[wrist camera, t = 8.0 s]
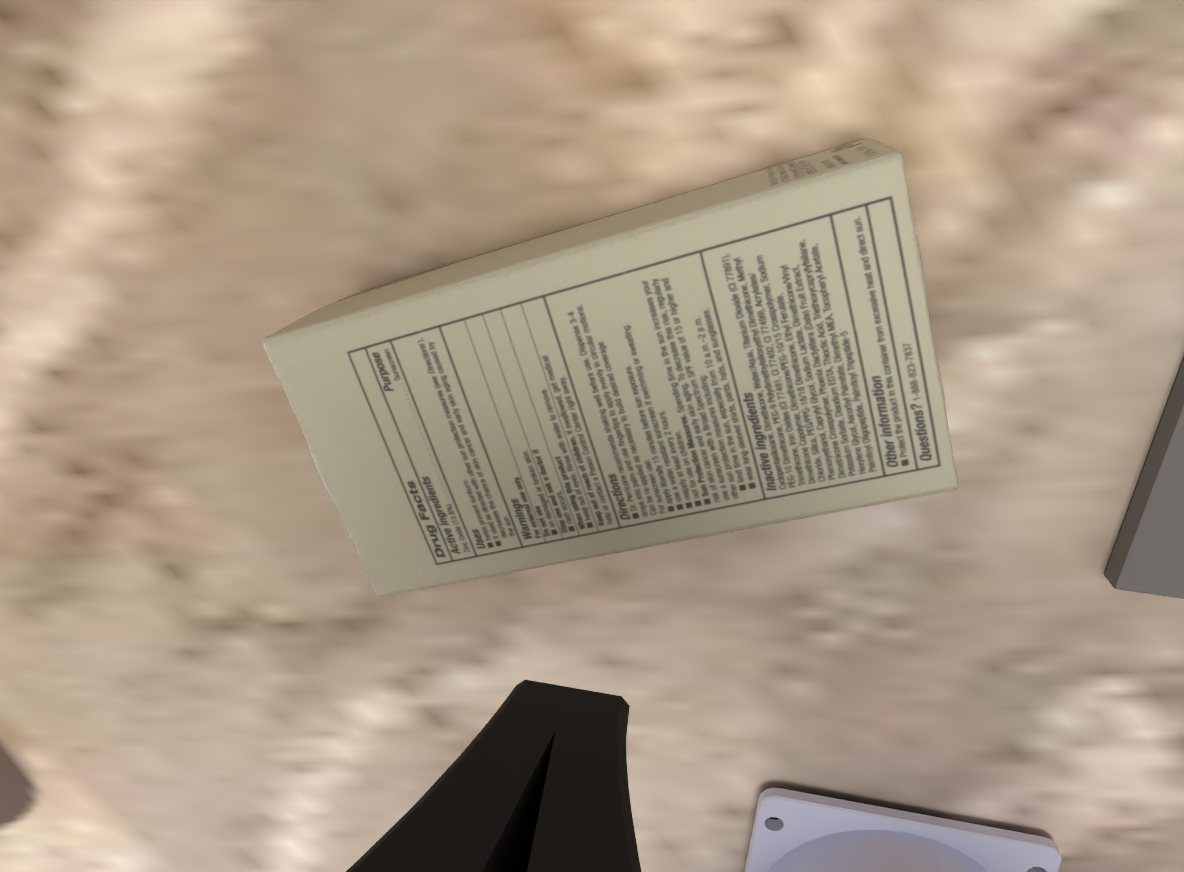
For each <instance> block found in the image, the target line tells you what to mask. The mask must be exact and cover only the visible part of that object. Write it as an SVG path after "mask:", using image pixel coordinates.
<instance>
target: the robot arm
mask: <svg viewBox="0 0 1184 872" xmlns="http://www.w3.org/2000/svg"><path fill="white" fill-rule="evenodd" d="M628 715H629V705H628V704H627V702H626V701H625V700H624V699H623V698H622V696H616V695H610V694H604V693H599V692H593V691H587V690H581V689H576V688H570V687H564V686H558V685H552V684H547V683H541V682H535V681H529V680H524V681H523V682H521V683H520V684H518V685H516V687H515V688H514V689H513V691H512V692H511V693H510V695H509V696H508V698H507V699H506V700H505V702H504V703H503V704H502V705H501V707H500V708H499V709H498V711H497V712H496V713H495V714H494V716H493V717H492V718H491V719H490V721H489V722H488V723H487V724H486V726H485V727H484V728H483V729H482V730H481V732H480V733H479V734H478V735H477V736H476V737H475V739H474V740H473V741H472V742H471V743H470V744H469V746H468V747H467V748H466V749H465V750H464V752H463V753H462V754H461V755H460V756H459V757H458V758H457V759H456V761H455V762H454V763H453V764H452V765H451V766H450V767H449V768H448V769H447V770H446V771H445V773H444V774H443V775H442V776H441V777H440V778H439V779H438V780H437V781H436V782H435V783H434V785H433V786H432V787H431V788H430V789H429V790H428V791H427V792H426V793H425V794H424V795H423V797H422V798H421V799H420V800H419V801H418V802H417V803H416V804H415V805H414V806H413V807H412V808H411V809H410V810H409V811H408V812H407V813H406V814H405V815H404V816H403V817H402V818H401V819H400V820H399V821H398V822H397V823H396V824H395V825H394V826H393V827H392V828H391V829H390V830H389V831H388V832H387V833H386V834H385V835H384V836H383V837H382V838H381V839H380V840H378V841H377V842H376V843H375V844H374V845H373V846H372V847H371V848H370V849H369V850H368V851H367V852H366V853H365V854H364V855H363V856H362V857H361V858H360V859H359V860H358V861H357V862H356V863H355V864H354V865H353V866H351V867H350V868H349V869H348V870H347V871H346V872H641V868H640V862H639V857H638V851H637V844H636V838H635V832H634V825H633V819H632V813H631V805H630V797H629V788H628V775H627V762H626V734H627V725H628ZM770 817H777V818H779V819H778V820H772V819H769V818H770ZM1061 860H1062V857H1061V855H1060V852H1059V850H1058V848H1057V846H1056V844H1055V842H1053V841H1052V840H1051V839H1049V838H1046V837H1043V836H1037V835H1032V834H1026V833H1021V832H1015V831H1010V830H1005V829H999V828H994V827H988V826H983V825H977V824H972V823H966V822H961V821H956V820H950V819H945V818H939V817H934V816H928V815H923V814H918V813H912V812H907V811H901V810H896V809H890V808H885V807H880V806H874V805H869V804H863V803H858V802H852V801H847V800H841V799H836V798H831V797H825V796H820V795H814V794H809V793H803V792H798V791H793V790H787V789H782V788H769V789H766V790H764V791H763V792H762V793H761V794H760V796H759V798H758V804H757V809H756V814H755V819H754V824H753V829H752V834H751V839H750V845H749V850H748V855H747V860H746V865H745V870H744V872H1058V870H1059V867H1060V865H1061ZM1032 867H1037V868H1032Z"/></svg>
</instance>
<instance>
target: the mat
mask: <svg viewBox="0 0 1184 872" xmlns="http://www.w3.org/2000/svg"><path fill="white" fill-rule="evenodd" d="M1104 575H1105V577H1106V578H1107V579H1108V580H1109V582H1110V583H1111V584H1112V586H1113V587H1114V588H1115V589H1119V590H1126V591H1133V592H1140V593H1147V594H1155V595H1162V596H1169V597H1176V598H1183V599H1184V359H1183V362H1182V364H1181V367H1180V370H1179V372H1178V375H1177V378H1176V381H1175V383H1174V386H1173V389H1172V392H1171V394H1170V397H1169V400H1168V402H1167V405H1166V408H1165V411H1164V413H1163V416H1162V419H1161V421H1160V424H1159V427H1158V430H1157V432H1156V435H1155V438H1154V441H1153V443H1152V446H1151V449H1150V451H1149V454H1148V457H1147V460H1146V462H1145V465H1144V468H1143V471H1142V473H1141V476H1140V479H1139V481H1138V484H1137V487H1136V490H1135V492H1134V495H1133V498H1132V500H1131V503H1130V506H1129V509H1128V511H1127V514H1126V517H1125V520H1124V522H1123V525H1122V528H1121V530H1120V533H1119V536H1118V539H1117V541H1116V544H1115V547H1114V549H1113V552H1112V555H1111V558H1110V560H1109V563H1108V566H1107V569H1106V571H1105V574H1104Z"/></svg>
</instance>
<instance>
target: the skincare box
mask: <svg viewBox="0 0 1184 872" xmlns="http://www.w3.org/2000/svg"><path fill="white" fill-rule="evenodd" d="M263 346H264V349H265V351H266V353H267V355H268V357H269V359H270V361H271V363H272V365H273V368H274V370H275V372H276V374H277V376H278V378H279V380H280V382H281V384H282V386H283V389H284V391H285V393H286V396H287V398H288V400H289V402H290V404H291V407H292V409H293V411H294V413H295V415H296V418H297V420H298V422H299V424H300V426H301V428H302V431H303V433H304V435H305V438H306V440H307V443H308V446H309V449H310V452H311V455H312V458H313V461H314V463H315V466H316V468H317V471H318V473H319V476H320V478H321V480H322V482H323V484H324V486H325V488H326V490H327V492H328V494H329V496H330V498H331V499H332V501H333V503H334V504H335V506H336V508H337V509H338V511H339V513H340V515H341V517H342V519H343V522H344V524H345V526H346V528H347V531H348V533H349V536H350V538H351V540H352V542H353V544H354V546H355V548H356V550H357V553H358V555H359V557H360V560H361V562H362V564H363V566H364V568H365V570H366V573H367V575H368V577H369V579H370V582H371V585H372V587H373V589H374V591H375V593H376V594H378V595H379V596H381V597H382V596H387V595H393V594H399V593H404V592H409V591H414V590H420V589H425V588H430V587H436V586H441V585H447V584H452V583H457V582H462V581H468V580H473V579H478V578H484V577H489V576H495V575H500V574H505V573H511V572H516V571H522V570H527V569H532V568H538V567H543V566H548V565H554V564H559V563H564V562H569V561H575V560H580V559H586V558H591V557H597V556H602V555H608V554H613V553H619V552H624V551H629V550H635V549H640V548H645V547H651V546H656V545H662V544H667V543H672V542H677V541H682V540H687V539H692V538H698V537H704V536H709V535H715V534H720V533H726V532H731V531H736V530H742V529H747V528H752V527H757V526H762V525H768V524H775V523H781V522H786V521H791V520H796V519H801V518H807V517H812V516H817V515H822V514H828V513H833V512H838V511H843V510H849V509H854V508H860V507H866V506H872V505H878V504H883V503H888V502H893V501H898V500H904V499H910V498H915V497H920V496H926V495H931V494H936V493H941V492H947V491H952V490H955V489H956V488H957V487H958V481H957V474H956V468H955V464H954V459H953V453H952V446H951V440H950V434H949V428H948V422H947V416H946V406H945V397H944V391H943V386H942V380H941V375H940V371H939V367H938V363H937V359H936V355H935V349H934V343H933V336H932V332H931V326H930V320H929V313H928V306H927V296H926V281H925V274H924V268H923V261H922V256H921V251H920V246H919V242H918V238H917V235H916V231H915V228H914V224H913V219H912V213H911V207H910V201H909V195H908V189H907V183H906V177H905V169H904V161H903V158H902V155H901V153H900V152H898V151H897V150H895V149H893V148H891V147H888V146H887V145H885V144H883V143H880V142H878V141H875V140H868V139H863V140H859V141H856V142H853V143H849V144H846V145H843V146H839V147H836V148H833V149H829V150H826V151H823V152H819V153H816V154H813V155H809V156H806V157H803V158H800V159H796V160H793V161H790V162H786V163H783V164H780V165H776V166H773V167H770V168H766V169H763V170H760V171H756V172H753V173H750V174H747V175H743V176H740V177H737V178H733V179H730V180H727V181H723V182H720V183H717V184H713V185H710V186H707V187H704V188H700V189H697V190H694V191H691V192H687V193H684V194H681V195H678V196H674V197H671V198H668V199H664V200H661V201H658V202H654V203H651V204H648V205H645V206H641V207H638V208H635V209H631V210H628V211H625V212H621V213H618V214H615V215H611V216H608V217H605V218H601V219H598V220H595V221H591V222H588V223H585V224H582V225H578V226H575V227H572V228H568V229H565V230H562V231H558V232H555V233H552V234H548V235H545V236H542V237H538V238H535V239H532V240H528V241H525V242H522V243H519V244H515V245H512V246H509V247H505V248H502V249H499V250H496V251H492V252H489V253H486V254H483V255H479V256H476V257H473V258H469V259H466V260H463V261H460V262H456V263H453V264H450V265H447V266H443V267H440V268H437V269H434V270H431V271H427V272H424V273H421V274H418V275H414V276H411V277H408V278H405V279H401V280H398V281H395V282H391V283H388V284H385V285H382V286H379V287H376V288H372V289H369V290H366V291H363V292H360V293H357V294H354V295H352V296H349V297H347V298H344V299H341V300H339V301H336V302H334V303H332V304H329V305H327V306H325V307H323V308H321V309H319V310H317V311H315V312H313V313H311V314H309V315H307V316H305V317H303V318H301V319H299V320H297V321H296V322H294V323H292V324H290V325H288V326H286V327H284V328H283V329H281V330H279V331H278V332H276V333H274V334H272V335H270V336H268V337H266V338H265V339H264V342H263Z"/></svg>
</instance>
